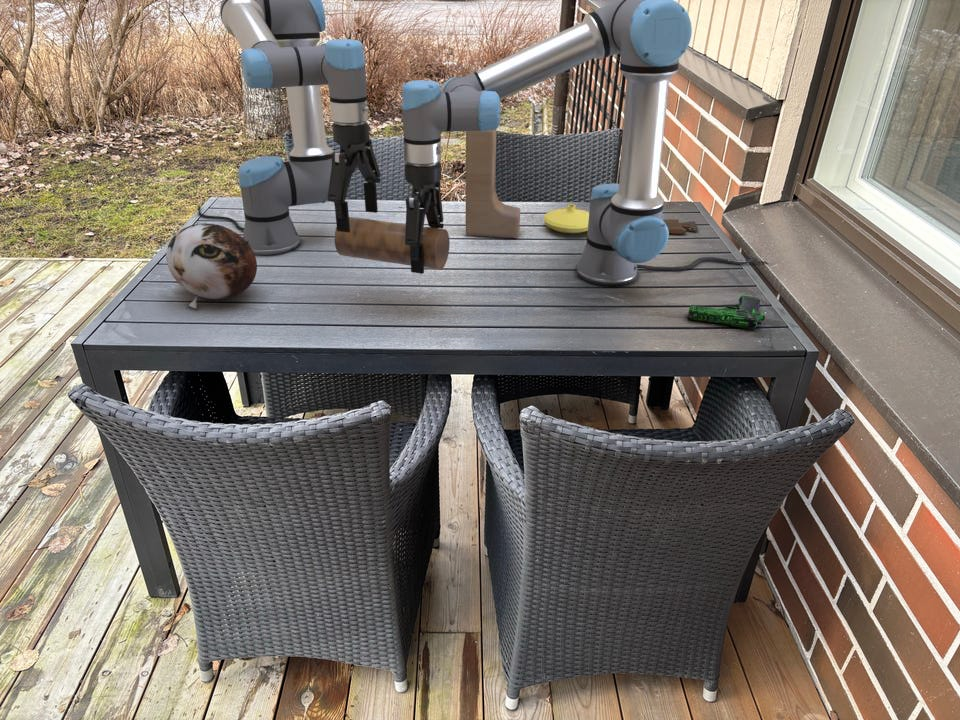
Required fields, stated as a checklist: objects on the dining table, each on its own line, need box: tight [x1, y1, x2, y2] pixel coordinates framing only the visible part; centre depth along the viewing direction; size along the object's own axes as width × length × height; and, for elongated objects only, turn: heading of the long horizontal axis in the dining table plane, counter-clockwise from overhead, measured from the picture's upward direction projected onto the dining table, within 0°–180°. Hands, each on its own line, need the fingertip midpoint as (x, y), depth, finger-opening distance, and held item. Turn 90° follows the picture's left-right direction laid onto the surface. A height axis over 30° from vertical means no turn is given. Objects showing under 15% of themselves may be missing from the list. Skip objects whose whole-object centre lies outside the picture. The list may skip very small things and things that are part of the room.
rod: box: [334, 216, 451, 271], centre depth 158 cm, size 24×9×9 cm, turn 72°
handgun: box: [687, 295, 766, 331], centre depth 164 cm, size 16×3×15 cm
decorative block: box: [465, 129, 521, 239], centre depth 199 cm, size 8×15×30 cm, turn 82°
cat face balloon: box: [165, 222, 258, 309], centre depth 165 cm, size 22×18×20 cm
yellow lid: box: [543, 203, 589, 234], centre depth 209 cm, size 16×16×7 cm
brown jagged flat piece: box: [662, 218, 698, 235], centre depth 212 cm, size 26×2×10 cm
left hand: (358, 221), depth 158 cm, fingers open, 13 cm apart
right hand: (425, 264), depth 158 cm, fingers closed on rod, 9 cm apart
